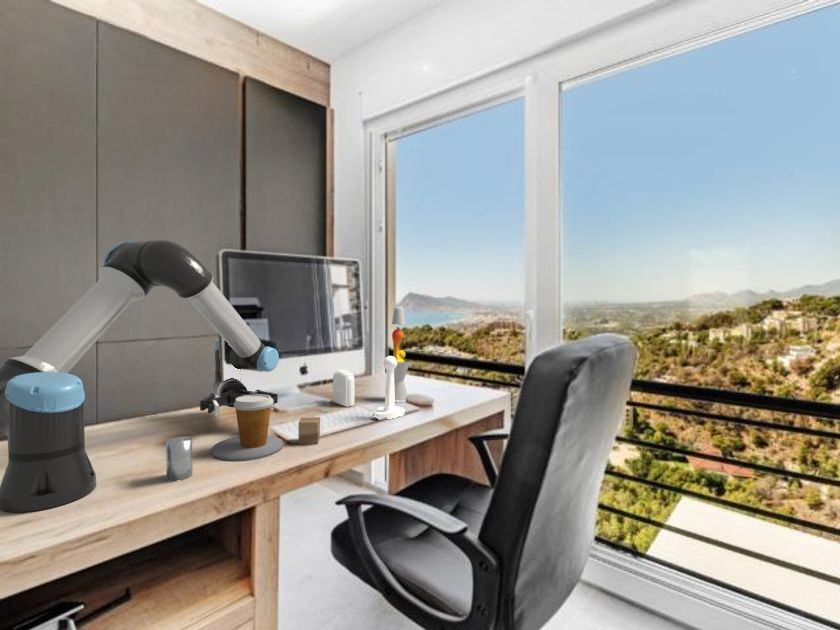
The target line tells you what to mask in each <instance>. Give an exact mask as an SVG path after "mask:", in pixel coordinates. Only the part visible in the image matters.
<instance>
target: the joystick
mask: <svg viewBox="0 0 840 630" xmlns="http://www.w3.org/2000/svg"><path fill="white" fill-rule="evenodd" d="M383 366H384V368H385V370H386V376H385V378H386V379H385V391H384V393H385V394H384V406H379V407H377V408H376V411H372V415H373V414H374V415H376V416H377V417H387V419H391V420H393V419H392V418H395V419H397V418H396V417H399V416H401V417H403V415H404V416H405V408H404V407H400V406H396V403H395V389H394V369H395V368H396V366H397V360H396V358H395V357H393V355H388V356H386V357H385V358H384V359H383ZM399 418H400V417H399Z"/></svg>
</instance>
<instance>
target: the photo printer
mask: <svg viewBox="0 0 840 630" xmlns="http://www.w3.org/2000/svg"><path fill="white" fill-rule="evenodd" d="M355 382H356V380H355V375H354V374H353V373H352V372H350V371H349V370H347V369H339V370H338V369H337V370H336V371H335V372H334V373H333V378H332V385H333V386H332V400H333V403H334V404H338V405H340V406H344V407H346V408H348V407H349V408H350V406H351V407H353V406H355V403H356V402H355V401H356V400H355V393H356V392H355V389H356V388H355Z"/></svg>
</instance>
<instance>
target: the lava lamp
mask: <svg viewBox="0 0 840 630" xmlns="http://www.w3.org/2000/svg"><path fill="white" fill-rule="evenodd" d="M404 315H405V314H404V308H403V307H401V306H400V307H394V309H393V315H392V321H391V325H397V326H398V325H400V326H401V325H406V322H405V316H404ZM404 335H405V334H404V332H403V330H401V329H395V330H393V332H392V333H391V338H392V343H393V354H392V356H393V357H395V358H396V360H397V366H396V368H395V369H394V389H395V400H404V399H405V398H406V396H408V397H409V395H408V393H407V388H406V386H405V382H404V381H405V377H406V375H407V372H408V369H409V365H410V363H411V360H408V359H405V357H406V352H405V350H403V349H400V345H401V342H402V341H403V339H404Z"/></svg>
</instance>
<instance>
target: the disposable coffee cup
mask: <svg viewBox="0 0 840 630" xmlns="http://www.w3.org/2000/svg"><path fill="white" fill-rule="evenodd" d="M272 404H273V401H272V399H271V396H269V395H261V394H256V395H245V396H241V397H238V398H236V400H235V403H234V406H235V407H234V409H235V414H236V421H237V427H238V429H237V430H238V435H239V436H240V444H241V446H242V447H244V448H256V447H261V446H263V445H265V444H266V443H267V435H269V434H268V433H269V427H270V425H269V424H270V418H271V417H270V416H271V411H272V410H271V406H272Z"/></svg>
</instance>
